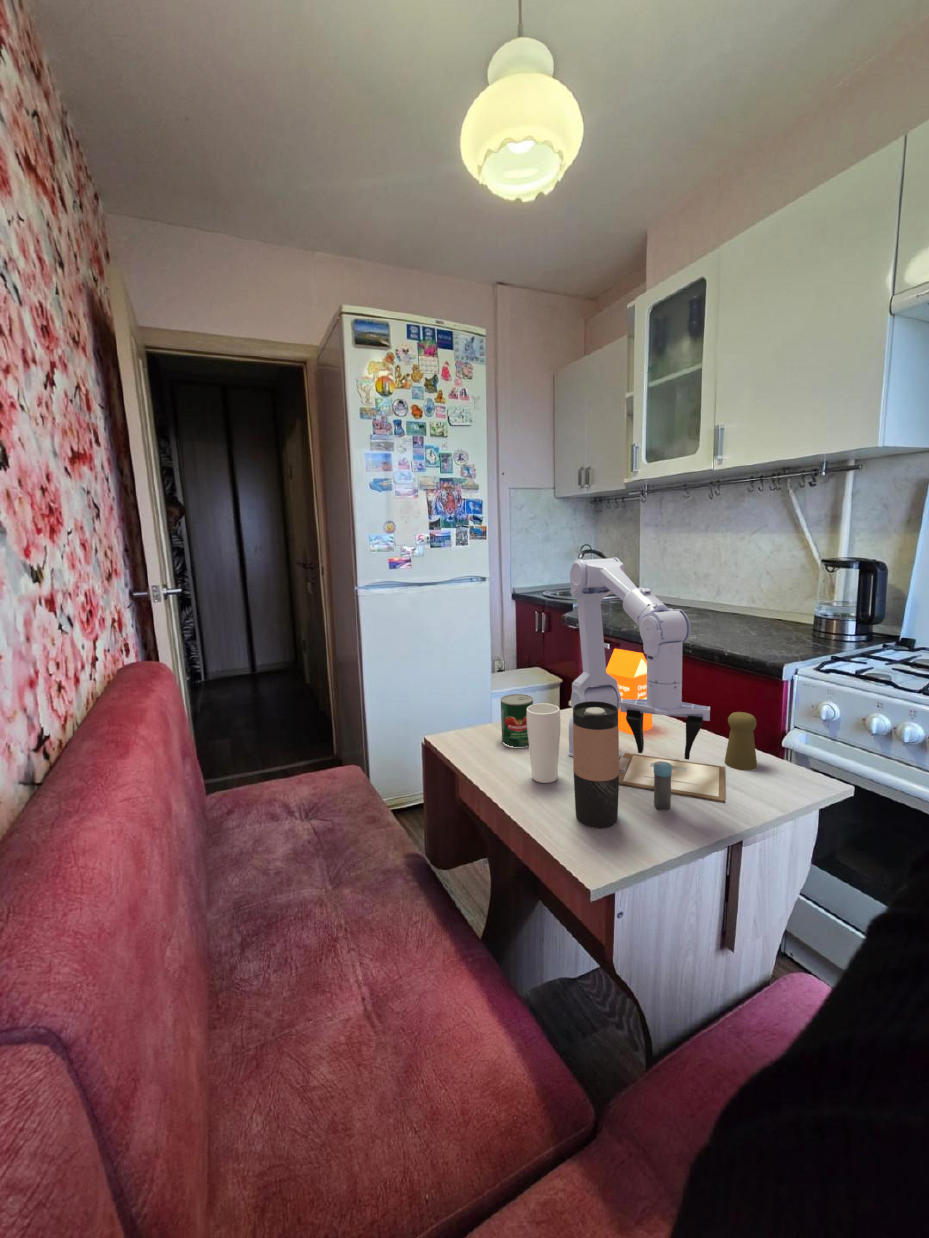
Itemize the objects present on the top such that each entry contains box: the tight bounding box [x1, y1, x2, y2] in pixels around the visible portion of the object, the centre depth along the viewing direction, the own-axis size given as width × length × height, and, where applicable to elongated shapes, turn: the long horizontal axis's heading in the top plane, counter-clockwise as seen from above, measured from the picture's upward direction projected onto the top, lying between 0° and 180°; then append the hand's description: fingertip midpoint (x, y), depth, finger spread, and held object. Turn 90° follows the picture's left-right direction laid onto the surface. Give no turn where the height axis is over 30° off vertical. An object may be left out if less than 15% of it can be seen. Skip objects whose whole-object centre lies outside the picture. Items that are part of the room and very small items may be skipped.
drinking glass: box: [526, 702, 561, 784], centre depth 104 cm, size 7×7×15 cm
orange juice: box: [606, 648, 653, 736], centre depth 129 cm, size 8×9×20 cm
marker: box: [653, 761, 672, 812], centre depth 91 cm, size 3×3×8 cm
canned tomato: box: [500, 693, 534, 748], centre depth 123 cm, size 8×8×11 cm
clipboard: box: [619, 752, 726, 803], centre depth 103 cm, size 20×15×1 cm
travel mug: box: [572, 701, 620, 830], centre depth 88 cm, size 8×8×20 cm
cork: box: [724, 711, 758, 771], centre depth 106 cm, size 6×6×11 cm
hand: (663, 754), depth 90 cm, fingers open, 7 cm apart
